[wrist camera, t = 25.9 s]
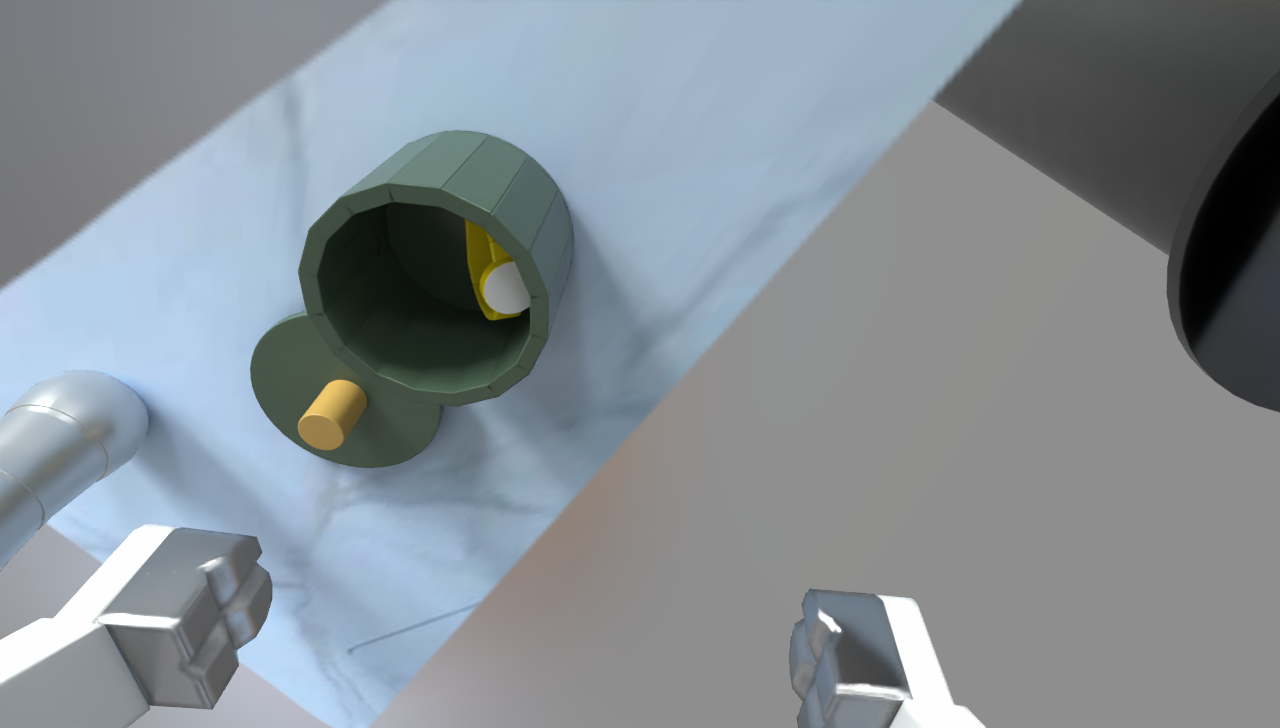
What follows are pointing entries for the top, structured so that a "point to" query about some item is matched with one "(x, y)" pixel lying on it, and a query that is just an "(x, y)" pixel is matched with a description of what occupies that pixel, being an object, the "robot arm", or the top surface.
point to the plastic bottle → (62, 447)
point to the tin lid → (334, 401)
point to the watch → (494, 276)
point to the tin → (437, 269)
